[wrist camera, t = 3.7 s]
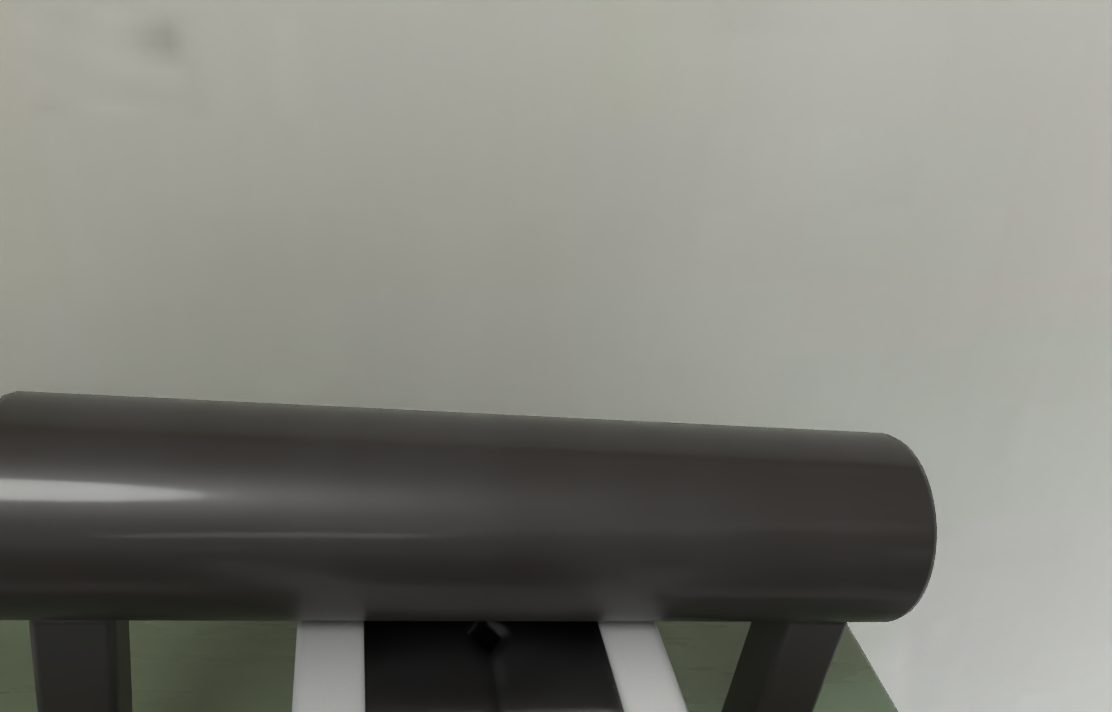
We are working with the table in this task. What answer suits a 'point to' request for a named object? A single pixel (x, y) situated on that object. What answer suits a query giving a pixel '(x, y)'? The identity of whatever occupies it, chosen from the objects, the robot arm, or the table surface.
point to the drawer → (437, 545)
